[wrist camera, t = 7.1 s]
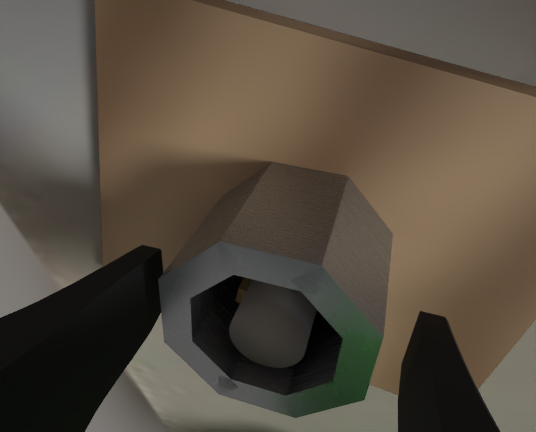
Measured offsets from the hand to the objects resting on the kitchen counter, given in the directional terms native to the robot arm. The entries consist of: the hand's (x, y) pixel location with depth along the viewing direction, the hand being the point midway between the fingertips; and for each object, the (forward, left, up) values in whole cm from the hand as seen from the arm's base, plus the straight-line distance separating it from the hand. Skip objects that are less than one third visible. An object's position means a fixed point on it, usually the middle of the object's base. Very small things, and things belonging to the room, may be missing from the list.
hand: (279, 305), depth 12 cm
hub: (0, 0, -2) cm, 2 cm away
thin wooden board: (0, 0, -3) cm, 3 cm away
